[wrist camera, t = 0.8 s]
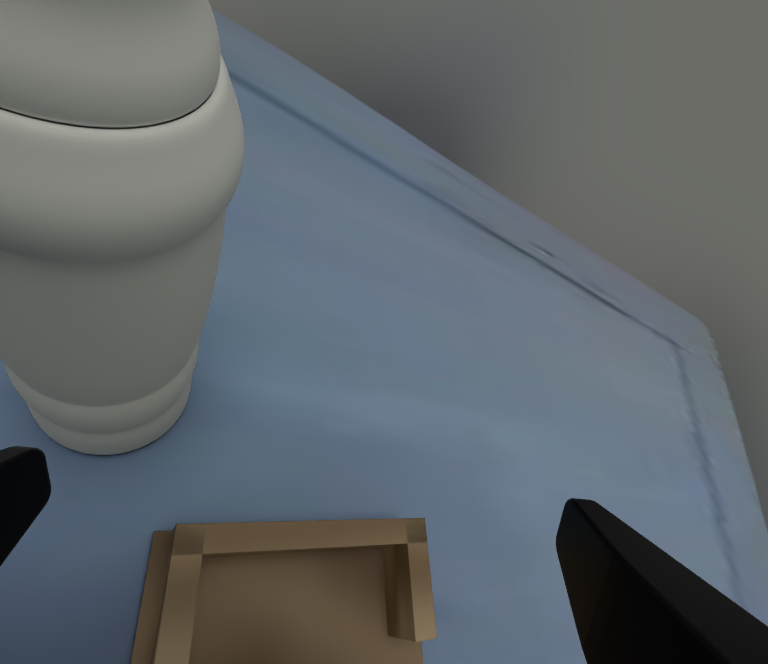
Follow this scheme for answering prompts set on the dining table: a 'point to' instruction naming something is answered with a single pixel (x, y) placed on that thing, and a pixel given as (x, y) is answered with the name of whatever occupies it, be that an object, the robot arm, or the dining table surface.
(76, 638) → the dining table surface
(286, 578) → the channel bracket
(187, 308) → the white milk bottle
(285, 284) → the dining table surface
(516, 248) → the dining table surface
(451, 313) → the dining table surface
